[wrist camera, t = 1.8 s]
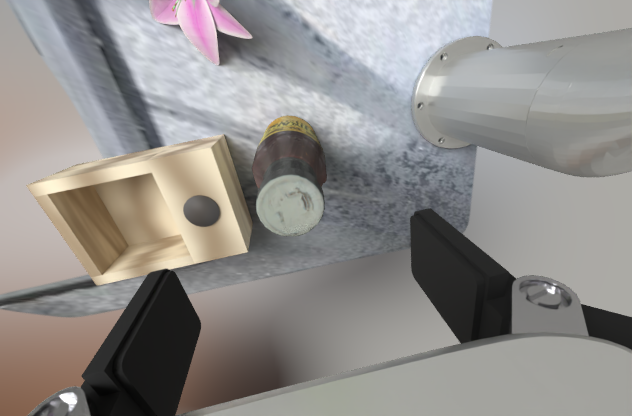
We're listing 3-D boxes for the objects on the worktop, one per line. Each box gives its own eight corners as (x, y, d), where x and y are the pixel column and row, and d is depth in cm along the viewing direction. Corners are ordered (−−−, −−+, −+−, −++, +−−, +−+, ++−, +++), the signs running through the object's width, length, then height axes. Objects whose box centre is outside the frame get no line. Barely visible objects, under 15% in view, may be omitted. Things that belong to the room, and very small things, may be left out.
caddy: (223, 134, 32) (210, 147, 26) (252, 223, 38) (247, 253, 31) (76, 164, 31) (24, 186, 25) (127, 250, 37) (95, 286, 30)
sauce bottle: (318, 118, 33) (367, 164, 15) (309, 168, 35) (342, 257, 17) (264, 108, 32) (245, 145, 14) (258, 160, 34) (237, 248, 16)
